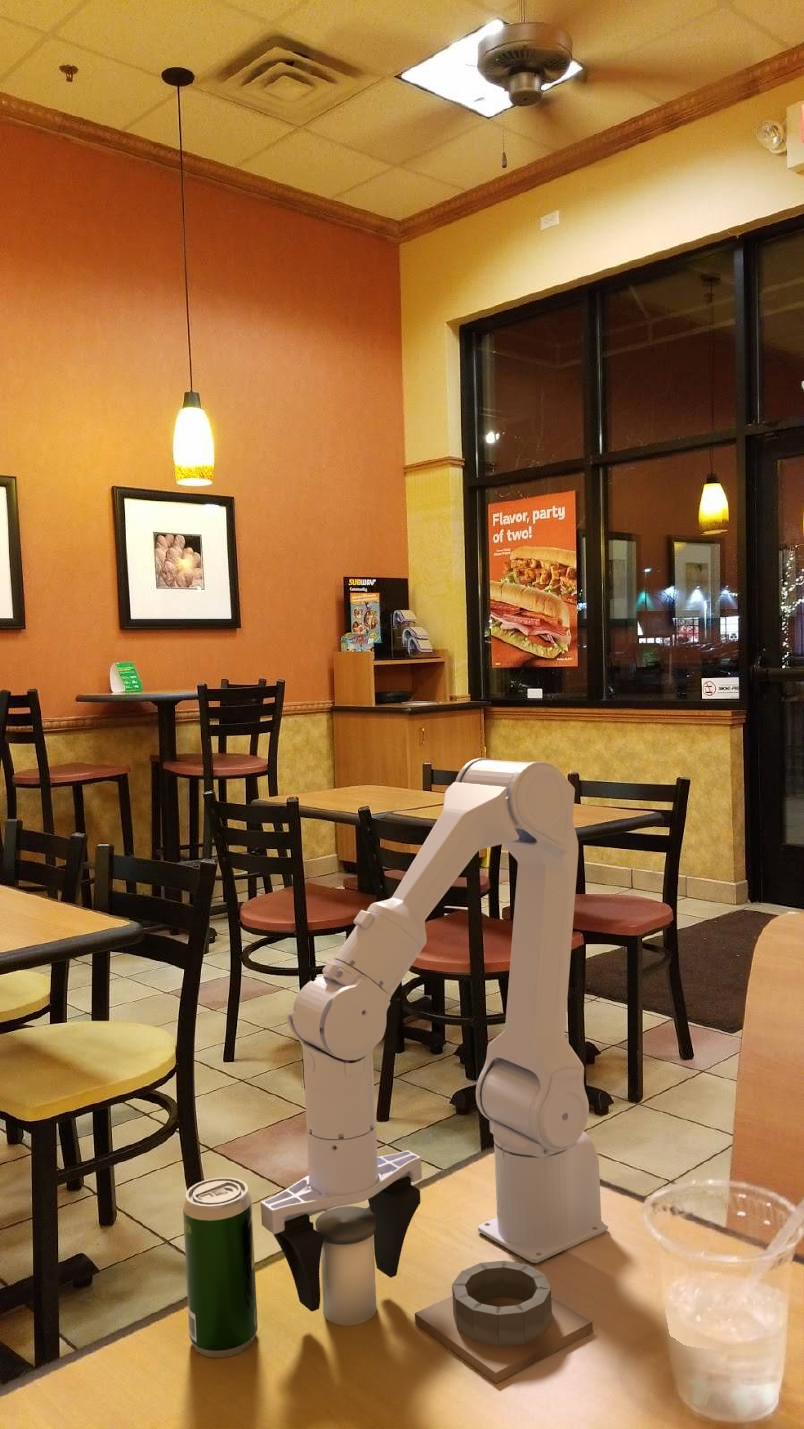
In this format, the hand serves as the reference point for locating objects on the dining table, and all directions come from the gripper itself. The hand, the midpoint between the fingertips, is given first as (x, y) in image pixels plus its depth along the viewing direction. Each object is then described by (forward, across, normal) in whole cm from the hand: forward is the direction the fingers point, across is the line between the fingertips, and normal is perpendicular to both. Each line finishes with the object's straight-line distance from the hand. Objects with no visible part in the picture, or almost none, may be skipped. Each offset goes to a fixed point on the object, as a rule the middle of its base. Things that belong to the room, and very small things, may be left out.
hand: (349, 1288), depth 92 cm
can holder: (+2, -8, +10) cm, 13 cm away
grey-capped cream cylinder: (+2, 0, 0) cm, 2 cm away
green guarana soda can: (+2, +10, -3) cm, 11 cm away
